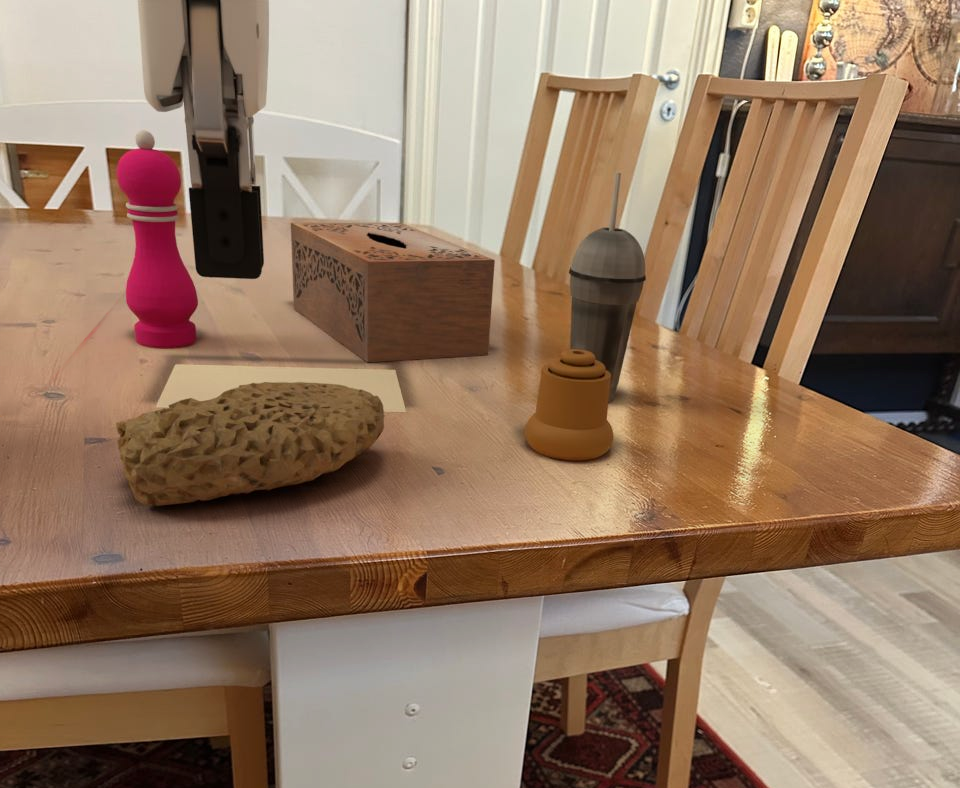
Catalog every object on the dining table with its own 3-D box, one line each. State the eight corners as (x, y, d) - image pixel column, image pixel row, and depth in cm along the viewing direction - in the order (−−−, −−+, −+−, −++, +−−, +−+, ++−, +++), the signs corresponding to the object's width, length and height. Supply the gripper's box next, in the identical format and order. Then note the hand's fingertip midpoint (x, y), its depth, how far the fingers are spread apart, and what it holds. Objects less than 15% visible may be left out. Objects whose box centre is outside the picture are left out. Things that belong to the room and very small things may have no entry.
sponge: (152, 548, 61) (431, 461, 66) (107, 430, 57) (406, 349, 63) (138, 505, 72) (378, 434, 77) (100, 405, 68) (354, 338, 74)
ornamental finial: (526, 429, 82) (610, 437, 82) (521, 458, 76) (612, 467, 76) (534, 337, 78) (623, 345, 78) (530, 360, 72) (626, 368, 72)
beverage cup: (559, 405, 89) (585, 174, 79) (551, 384, 96) (574, 167, 85) (633, 409, 90) (669, 180, 79) (621, 388, 96) (652, 173, 86)
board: (155, 409, 81) (154, 407, 81) (175, 366, 93) (175, 364, 93) (406, 414, 85) (406, 411, 85) (395, 371, 96) (395, 369, 96)
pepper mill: (135, 332, 102) (110, 125, 92) (203, 333, 104) (186, 130, 93) (127, 349, 96) (98, 130, 86) (199, 350, 98) (179, 135, 87)
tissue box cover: (488, 354, 104) (494, 260, 99) (367, 362, 98) (367, 261, 93) (399, 304, 123) (401, 223, 118) (293, 308, 117) (290, 222, 112)
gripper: (134, -170, 44) (175, 245, 54) (58, -269, 31) (129, 302, 41) (295, -151, 45) (306, 251, 55) (286, -239, 32) (303, 309, 42)
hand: (231, 270), depth 48 cm, fingers closed
